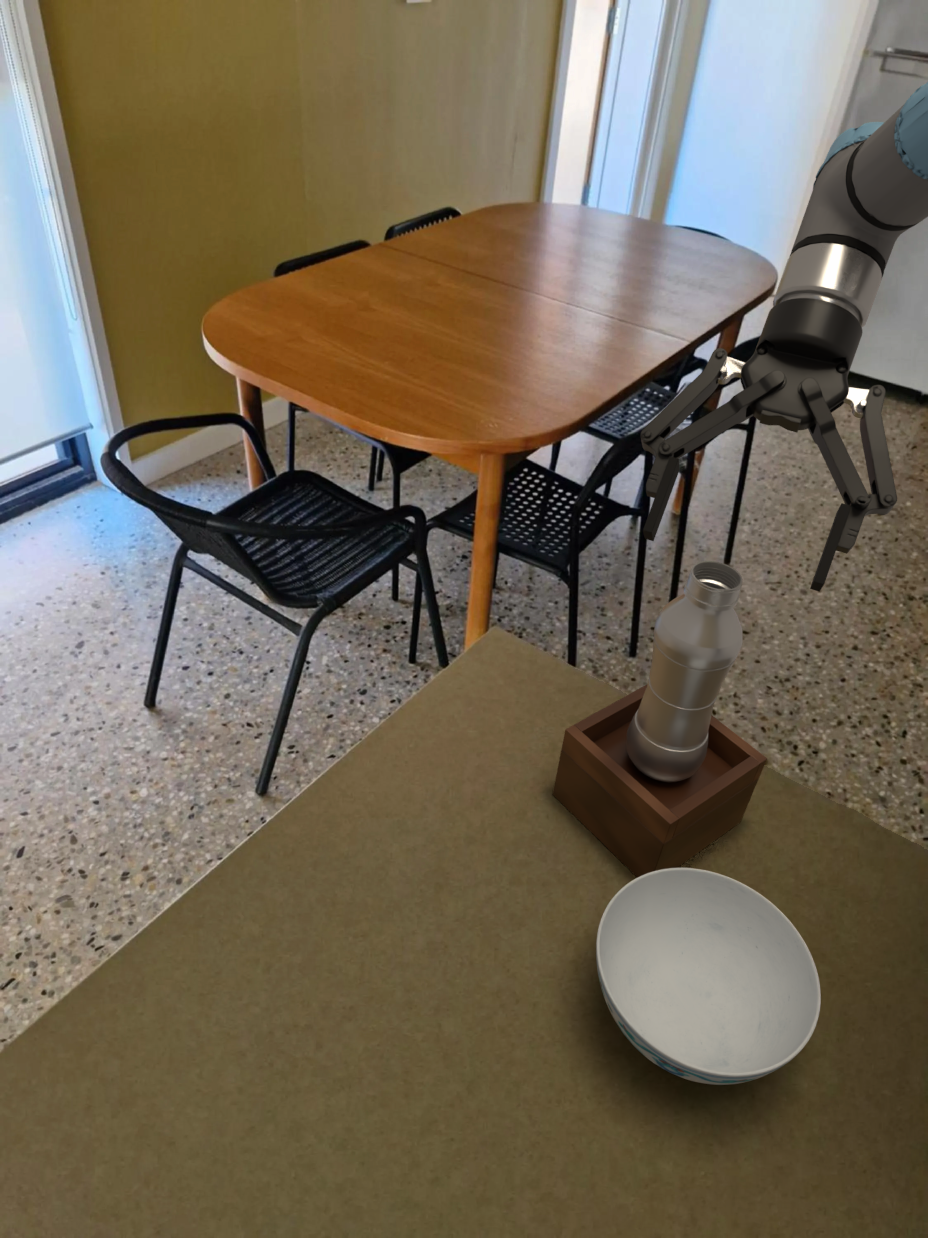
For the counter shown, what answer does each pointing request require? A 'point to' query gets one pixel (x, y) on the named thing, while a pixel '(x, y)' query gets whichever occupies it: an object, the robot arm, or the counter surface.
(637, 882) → the chinaware
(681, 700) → the metal bottle
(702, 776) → the walnut box
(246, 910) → the counter surface
